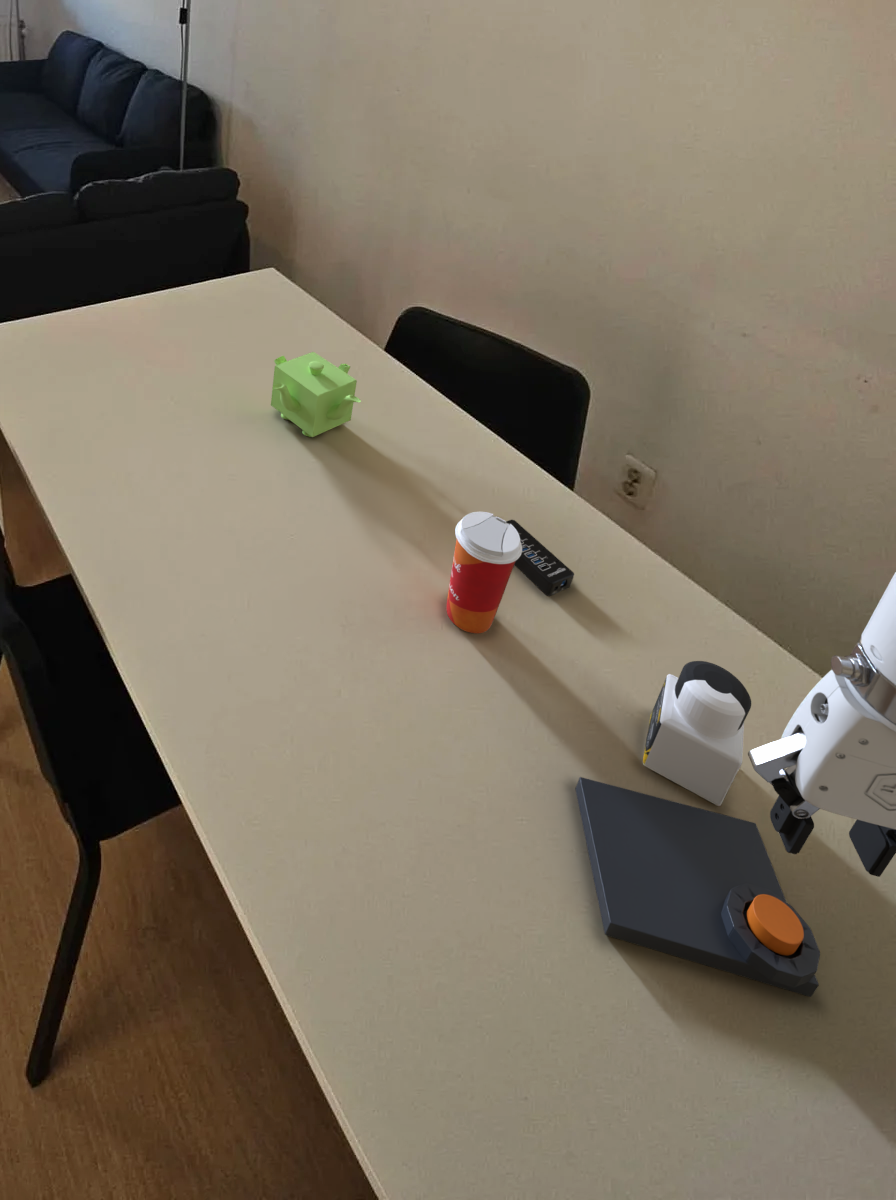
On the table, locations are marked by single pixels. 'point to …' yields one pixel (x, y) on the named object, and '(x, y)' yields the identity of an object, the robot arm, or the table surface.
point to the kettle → (313, 393)
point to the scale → (686, 884)
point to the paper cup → (480, 569)
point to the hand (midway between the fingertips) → (823, 843)
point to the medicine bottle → (698, 730)
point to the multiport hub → (541, 564)
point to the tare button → (775, 924)
